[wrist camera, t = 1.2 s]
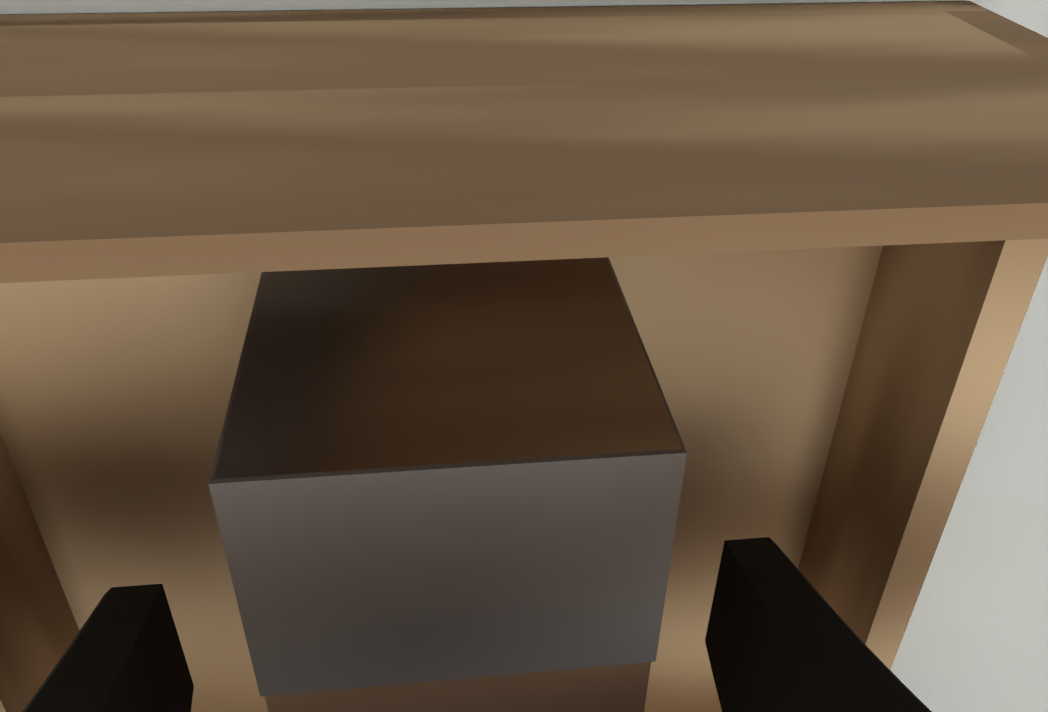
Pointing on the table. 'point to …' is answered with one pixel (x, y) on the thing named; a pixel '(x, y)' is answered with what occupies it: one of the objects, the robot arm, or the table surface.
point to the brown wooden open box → (516, 235)
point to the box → (448, 490)
